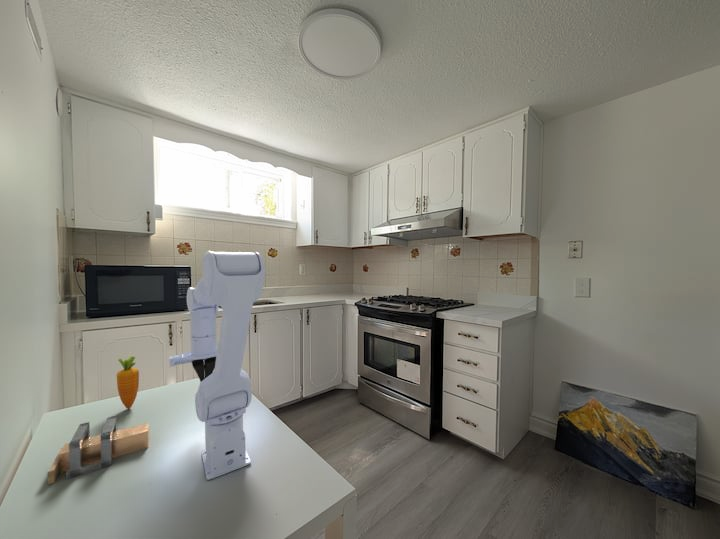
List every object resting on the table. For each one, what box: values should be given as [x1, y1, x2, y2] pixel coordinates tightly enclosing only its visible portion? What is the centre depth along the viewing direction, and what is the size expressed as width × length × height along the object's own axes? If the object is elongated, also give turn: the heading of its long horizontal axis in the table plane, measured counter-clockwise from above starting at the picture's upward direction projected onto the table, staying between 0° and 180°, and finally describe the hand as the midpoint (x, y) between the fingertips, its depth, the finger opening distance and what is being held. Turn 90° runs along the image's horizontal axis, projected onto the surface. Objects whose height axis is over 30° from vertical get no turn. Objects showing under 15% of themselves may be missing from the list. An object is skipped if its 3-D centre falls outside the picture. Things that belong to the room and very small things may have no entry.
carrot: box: [116, 355, 140, 410], centre depth 80 cm, size 5×5×15 cm
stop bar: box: [47, 447, 63, 486], centre depth 56 cm, size 8×1×2 cm, turn 34°
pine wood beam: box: [58, 422, 150, 474], centre depth 61 cm, size 4×14×4 cm, turn 123°
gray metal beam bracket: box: [65, 415, 118, 480], centre depth 59 cm, size 8×6×6 cm
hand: (204, 388), depth 72 cm, fingers closed
